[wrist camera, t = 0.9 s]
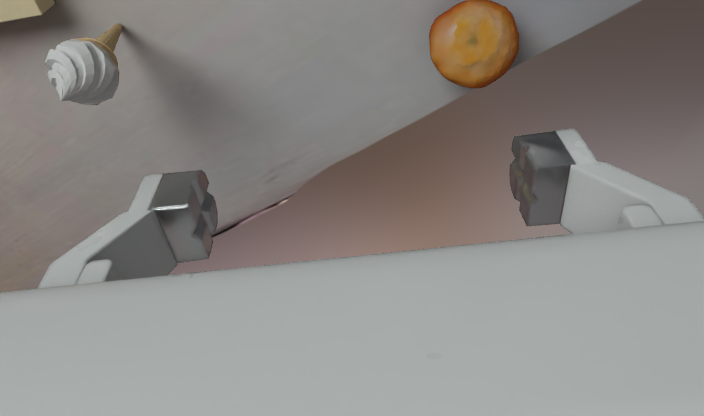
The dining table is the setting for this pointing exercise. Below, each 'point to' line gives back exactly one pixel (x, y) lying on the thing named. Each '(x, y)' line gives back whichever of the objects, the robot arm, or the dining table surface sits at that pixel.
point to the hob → (23, 8)
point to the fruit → (474, 43)
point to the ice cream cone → (85, 68)
